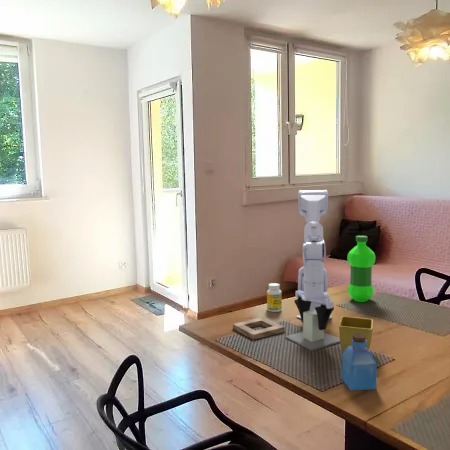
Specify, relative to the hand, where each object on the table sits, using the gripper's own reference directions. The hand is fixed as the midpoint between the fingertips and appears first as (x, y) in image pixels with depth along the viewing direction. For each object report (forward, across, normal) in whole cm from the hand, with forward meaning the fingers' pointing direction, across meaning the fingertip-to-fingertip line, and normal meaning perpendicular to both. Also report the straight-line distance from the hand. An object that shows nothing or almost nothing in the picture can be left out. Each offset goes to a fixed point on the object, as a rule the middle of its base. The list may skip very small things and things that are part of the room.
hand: (313, 325), depth 137 cm
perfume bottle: (+5, +27, -10) cm, 29 cm away
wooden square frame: (+4, -16, -9) cm, 19 cm away
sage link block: (+4, 0, 0) cm, 4 cm away
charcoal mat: (+4, 0, 0) cm, 4 cm away
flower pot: (+5, +14, +3) cm, 15 cm away
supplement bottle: (+5, -30, +8) cm, 31 cm away
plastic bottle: (+5, -21, +43) cm, 48 cm away
